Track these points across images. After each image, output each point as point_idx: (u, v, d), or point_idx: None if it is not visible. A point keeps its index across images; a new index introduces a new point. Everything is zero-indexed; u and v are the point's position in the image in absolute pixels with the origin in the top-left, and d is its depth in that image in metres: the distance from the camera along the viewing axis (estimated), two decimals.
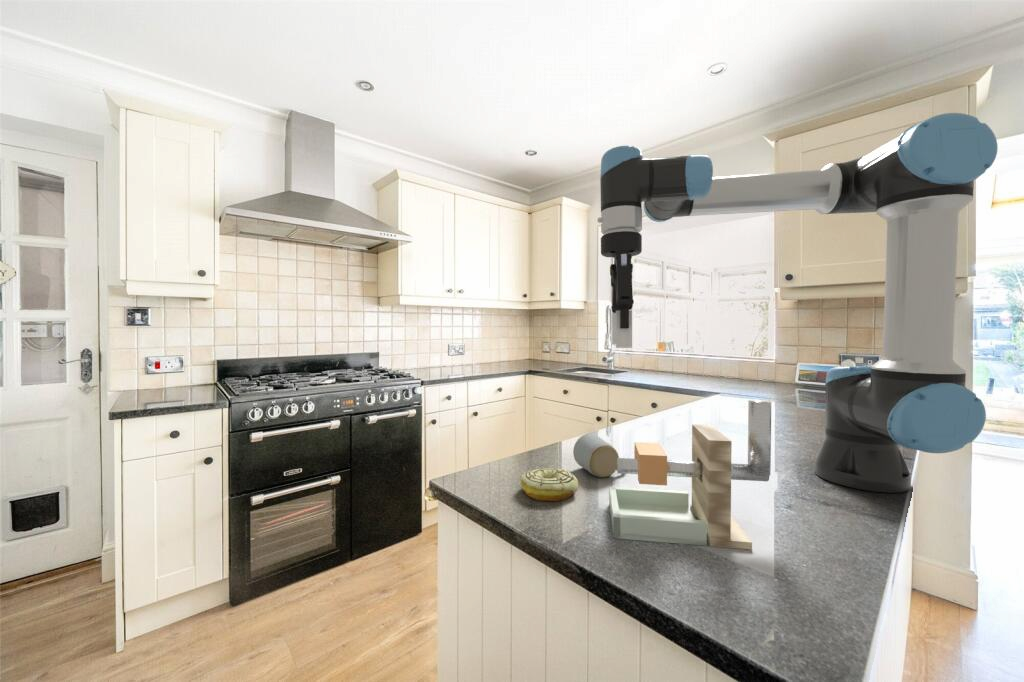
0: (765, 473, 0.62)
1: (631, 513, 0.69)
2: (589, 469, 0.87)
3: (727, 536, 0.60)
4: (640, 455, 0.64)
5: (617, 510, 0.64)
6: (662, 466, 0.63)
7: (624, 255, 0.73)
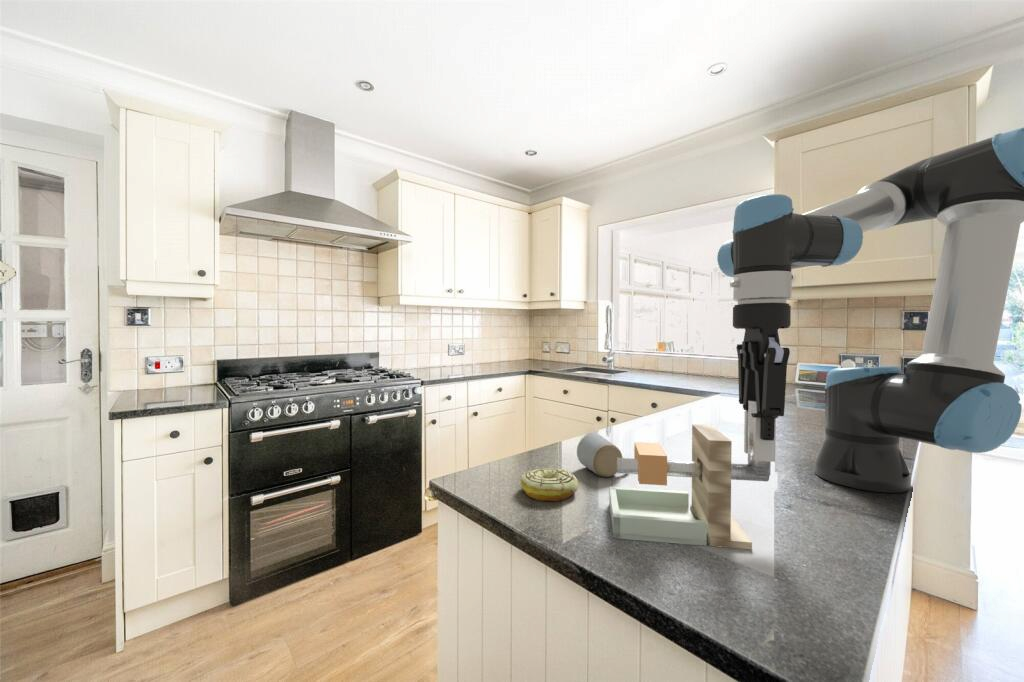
0: (765, 473, 0.62)
1: (631, 513, 0.69)
2: (593, 469, 0.87)
3: (727, 536, 0.60)
4: (640, 455, 0.64)
5: (617, 510, 0.64)
6: (662, 466, 0.63)
7: (780, 352, 0.57)
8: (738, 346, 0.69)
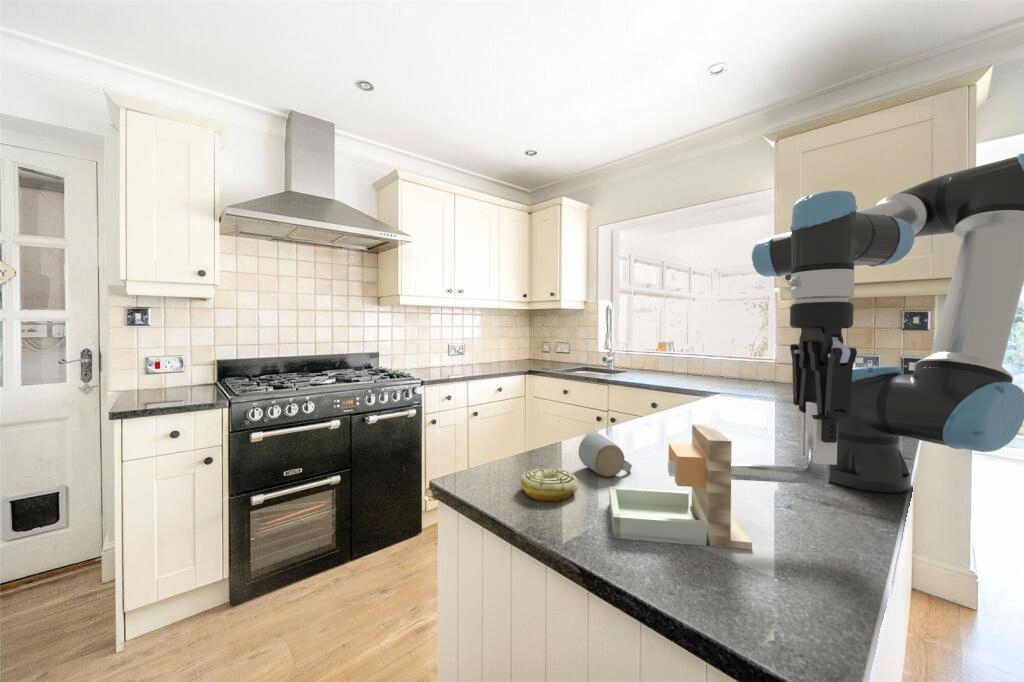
0: (825, 476, 0.61)
1: (631, 513, 0.69)
2: (595, 468, 0.87)
3: (727, 536, 0.60)
4: (678, 457, 0.63)
5: (617, 510, 0.64)
6: (701, 468, 0.62)
7: (847, 352, 0.55)
8: (792, 346, 0.67)
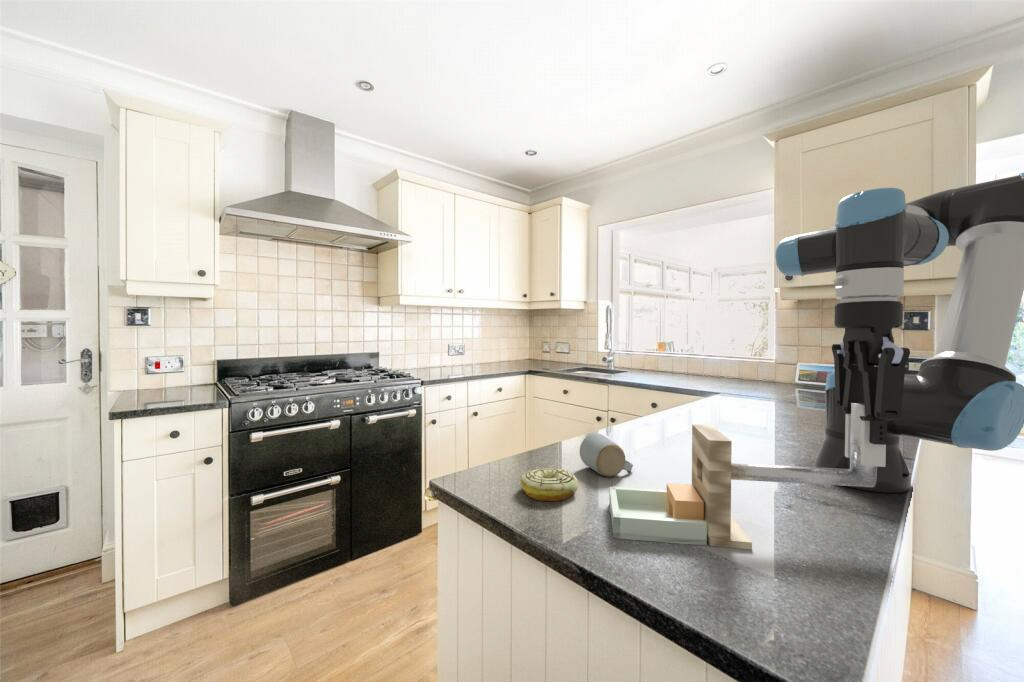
0: (872, 479, 0.60)
1: (631, 513, 0.69)
2: (596, 468, 0.87)
3: (727, 536, 0.60)
4: (676, 501, 0.63)
5: (617, 510, 0.64)
6: (698, 512, 0.62)
7: (900, 353, 0.54)
8: (834, 346, 0.66)
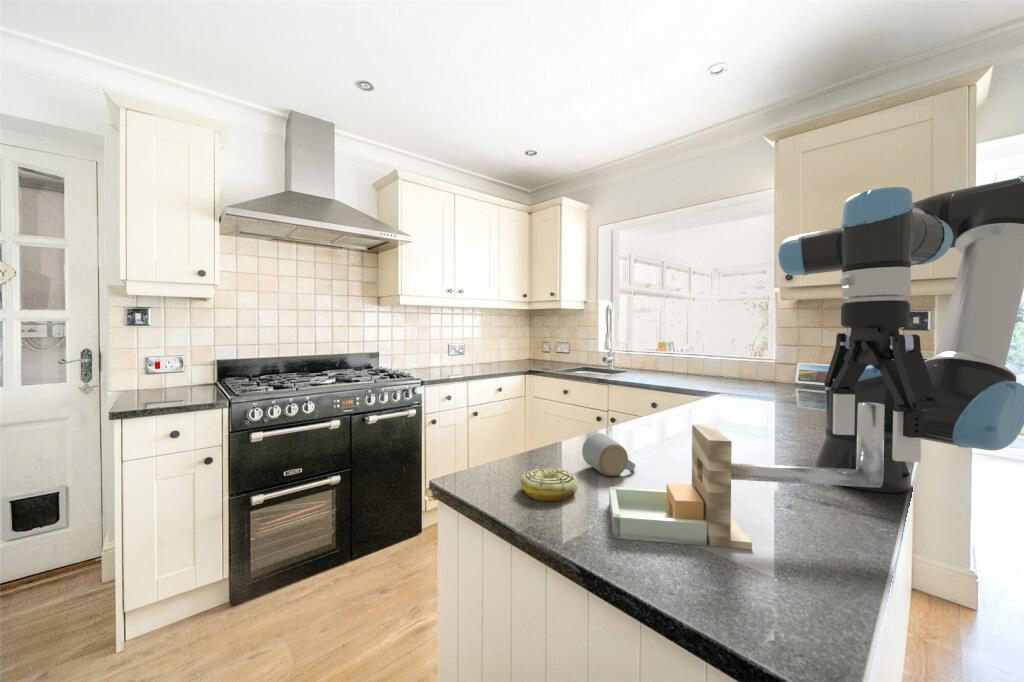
0: (879, 479, 0.60)
1: (631, 513, 0.69)
2: (598, 468, 0.87)
3: (727, 536, 0.60)
4: (676, 501, 0.63)
5: (617, 510, 0.64)
6: (698, 512, 0.62)
7: (909, 337, 0.54)
8: (840, 336, 0.66)
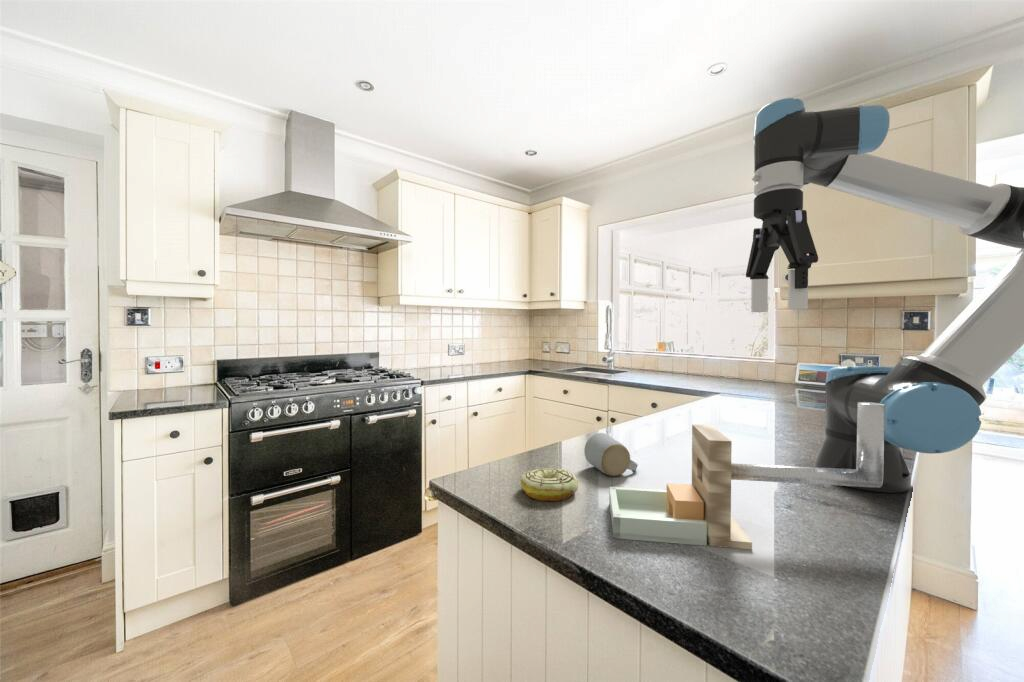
0: (879, 479, 0.60)
1: (631, 513, 0.69)
2: (601, 468, 0.87)
3: (727, 536, 0.60)
4: (676, 501, 0.63)
5: (617, 510, 0.64)
6: (698, 512, 0.62)
7: (799, 211, 0.69)
8: (755, 230, 0.81)
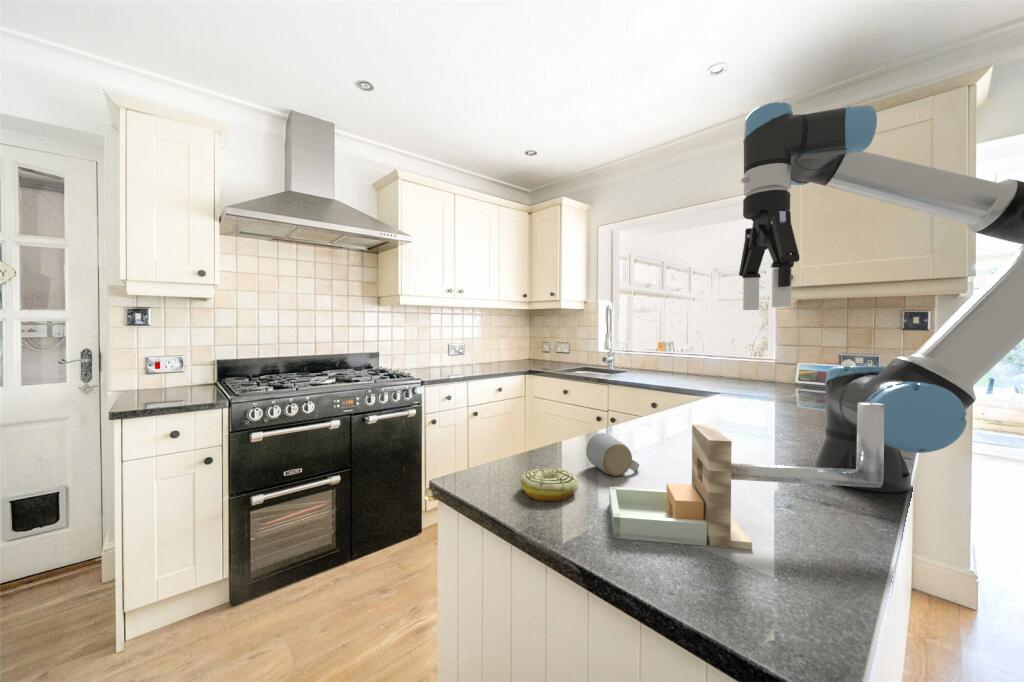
0: (879, 479, 0.60)
1: (631, 513, 0.69)
2: (602, 468, 0.87)
3: (727, 536, 0.60)
4: (676, 501, 0.63)
5: (617, 510, 0.64)
6: (698, 512, 0.62)
7: (783, 212, 0.71)
8: (747, 230, 0.84)
